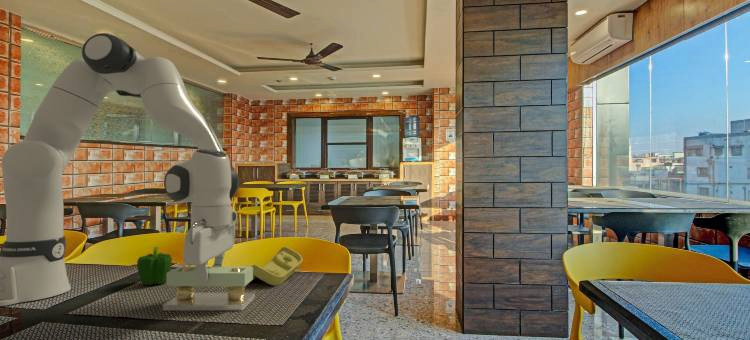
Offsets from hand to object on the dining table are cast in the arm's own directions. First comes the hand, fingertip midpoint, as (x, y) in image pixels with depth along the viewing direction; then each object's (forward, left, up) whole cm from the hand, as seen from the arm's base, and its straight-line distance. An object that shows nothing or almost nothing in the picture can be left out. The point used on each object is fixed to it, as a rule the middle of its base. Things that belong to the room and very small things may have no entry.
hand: (211, 275), depth 92 cm
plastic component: (+10, +24, -7) cm, 27 cm away
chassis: (0, 0, -7) cm, 7 cm away
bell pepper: (-23, +17, -7) cm, 29 cm away
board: (0, 0, -2) cm, 2 cm away
